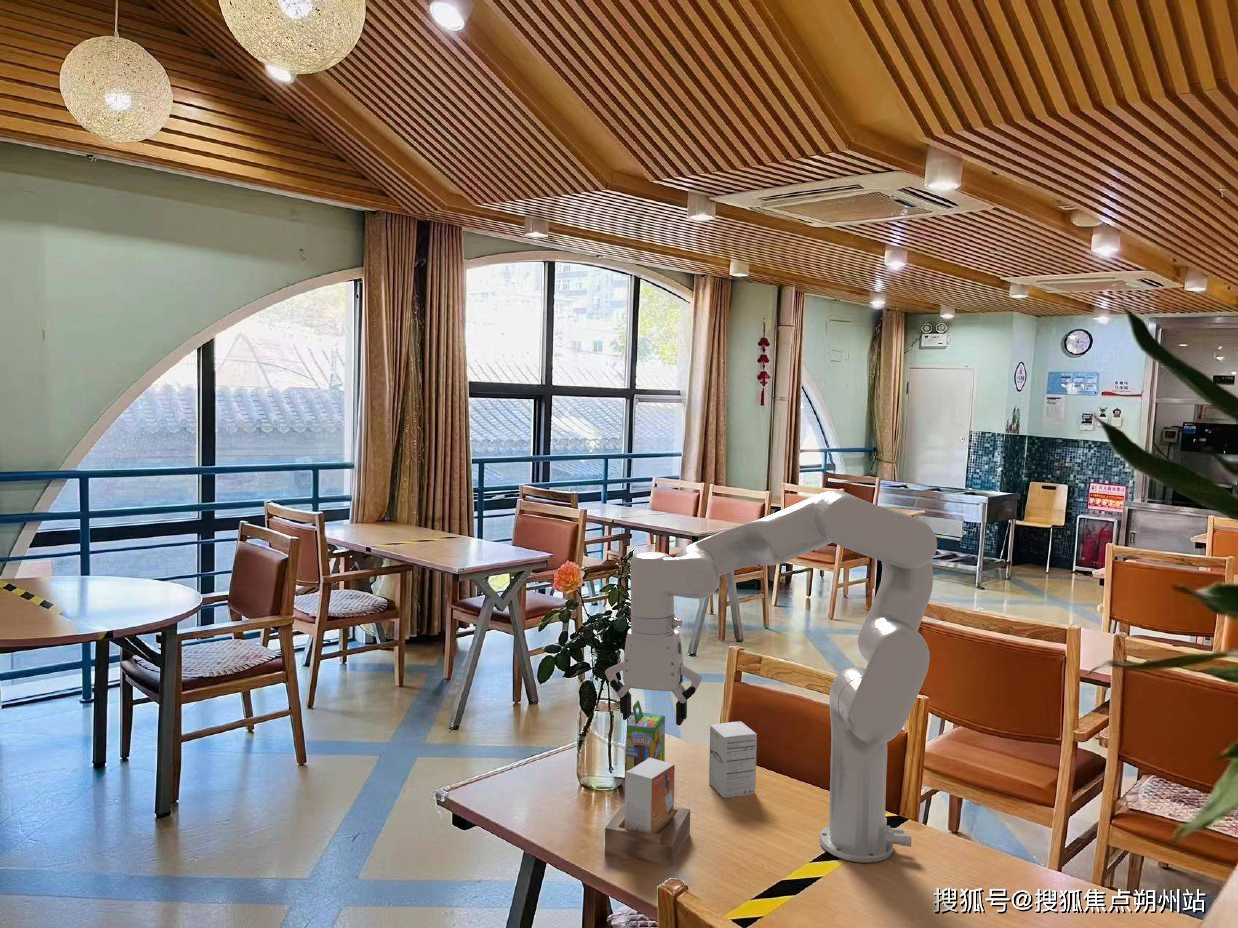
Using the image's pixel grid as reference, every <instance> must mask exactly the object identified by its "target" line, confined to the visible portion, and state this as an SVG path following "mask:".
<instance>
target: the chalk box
mask: <svg viewBox="0 0 1238 928" xmlns="http://www.w3.org/2000/svg"><path fill="white" fill-rule="evenodd" d="M637 709H638V711H637ZM665 730H666V716H665V715H663V714H661V715H660V714H656V713H655V714H654V713H650V712H644V711H643V709H642V706H641V703H640V700H636V702H635V703H634V704H633V705H632V711H631V715H630V717H629V718H628V724H627V749H626V763H625V772H626V771H628V770H630V769H632V768H633V767H635V766H637V765H638V764H640V763H642V762H643V761H645V760H646V759H648V758H653V759H657V760H661V761H664V762H666V760H665V758H666V757H665V756H666V755H665V754H666V751H665V750H666V749H665V747H666V746H665V745H666V744H665V743H666V741H665V740H666V739H665V738H666V737H665V736H666V731H665Z"/></svg>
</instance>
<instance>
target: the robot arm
mask: <svg viewBox="0 0 1238 928" xmlns="http://www.w3.org/2000/svg"><path fill="white" fill-rule="evenodd" d="M832 543H833V544H834V545H838V546H839V547H842V548H845V549H847V550H849V551H852V552H853V553H854V552H855V553H857V554H859V555H863V556H866V557H868V558H872V559H874V560H877V561H881V567H882V569H881V570H882V572H881V580H880V583H879V586H878V589H877V592H876V595H875V596H874V599H873V601H872V604H871V606H870V608H869V611H868V614H867V616H866V618H865V619H864V622H863V625H862V626H861V628H860V631H859V634H858V637H857V646H858V650H859V652H860V654H861V656H862V657H863V658H864V660H865V661H866V662H867V665H866V667H865V668H864V667H860V666H856V667H855V666H853V667H848V668H845V669H844V670H842V671H840V673H837V675H836V676H835V678H834V680H833V681H832V684H831V686H830V690H829V713H830V715H829V716H830V729H831V736H830V737H831V740H830V741H831V743H830V747H831V748H830V750H831V751H830V752H831V753H830V771H829V772H830V778H829V779H830V780H829V809H828V811H829V812H828V813H829V814H828V825H827V826H825V827H823V829H821V830H820V833H819V843H820V845H821V847H822V848H823V849H824V850H825V851H826V852H828V853H829V854H831V855H832V856H834V857H837V858H839V859H842V860H845V861H849V862H855V863H863V864H865V863H866V864H867V863H877V862H881V861H884V860H886V859H888V858H890V857H891V855H892V854H893V852H894V845H898V846H900V847H901V846H902V847H907V848H912V837H913V836H912V835H911V834H905V829H904V828H894V827H891V825H887V822H888V821H887V820H888V819H887V817H886V800H887V799H886V798H887V797H886V795H887V793H886V792H887V768H888V767H887V766H888V765H887V764H888V742H890V741H892V740H894V739H896V737H897V736H898V735H899V734H900V733H901V731H902V730H903V728H904V727H905V724H906V722H907V720H908V718H909V716H910V714H911V711H912V709H913V707H914V704H915V703H916V701H917V699H918V696H919V694H920V691H921V689H922V687H923V686H922V685H924V682H925V680H926V677H927V673H928V671H929V667H930V666H929V665H930V660H931V659H930V656H931V655H930V649H929V646H928V643H927V641H926V639H924V637H923V635H922V634H921V633H920V632H919V629H920V626H921V623H922V621H923V617H924V616H925V612H926V609H927V607H928V604H929V601H930V598H931V597H932V596H931V595H932V591H933V586H934V570H933V565H932V560H933V558H934V557H935V555H936V552H937V549H938V540H937V536H936V534H935V532H934V530H933V529H932V527H931V526H930V525H929V524H927V523H926V522H925V521H923V520H921V519H919V518H916V517H914V516H912V515H910V514H909V513H908V514H907V513H904V512H902V511H898V510H891V509H889V508H885V507H883V506H880V505H877V504H875V503H872V502H869V501H867V500H865V499H862V498H860V497H857V496H855V495H853V494H851V493H848V492H845V491H842V490H839V489H838V490H836V489H832V490H827V491H824V492H821V493H818V494H816V495H814V496H811V497H809V498H807V499H805V500H802V501H800V502H798V503H795V504H792V505H791V506H789V507H786V508H784V509H781V510H779V511H776V512H774V513H772V514H769V515H766V516H764V517H762V518H758V519H756V520H753V521H749V522H746V523H744V524H742V525H739V526H736V527H732V528H729V529H726V530H722V531H719V532H717V533H715V534H713V535H710V536H707V537H705V538H703V539H701V540H699V541H695V542H694V543H691V544H689V545H687V546H686V547H684V548H682V549H681V550H680V551H679V552H677V554H676V555H675V557H672V556H671V555H670V554H667V553H665V552H660V551H648V552H646V551H645V552H639V553H636V554H634V555H633V556H632V557H631V559H630V571H629V573H630V574H629V576H630V628H629V629H628V630H627V634H626V638H625V646H624V652H623V654H624V655H623V661H621V662H619V663H617V664H614V665H612V666H609V667H608V668H606V669H605V670H604V674H605V676H606V679H607V680H608V682H609V685H610V687H611V688H612V689H613V690H614V691H615V693H616V694H617V697H618V698H619V712H620V714H622V715H623V720H626V719H628V718H629V717H630V715H631V712H632V694H631V692H630V689H638V690H648V691H659V692H671V693H672V694H673V696H674V697H675V698H676V699H677V702H676V703H675V724H676V725H677V726H681V725H682V724H683V722H684V721H685V720H686V719H687V718H688V700H690V698H691V697H692V696H693V695H694V694H695V693H696V692H697V690H698V688H699V687H700V685H701V682H702V680H703V676H702V675H700V674H699V673H697V672H695V671H694V670H692V669H690V668H688V667H687V666H685V665H684V656H683V647H682V641H681V635H680V632H679V631H680V630H677V628H681V627H683V618H681V619H680V618H677V617H676V613H675V597H679V598H687V599H694V600H695V599H696V600H697V599H704V598H708V597H709V596H711V595H712V594H714V593H715V592H716V591H717V589H718V587H719V585H720V580H721V576H723V575H726V574H728V573H730V572H734V571H737V570H739V569H742V568H746V567H751V566H776V565H781V564H785V563H787V562H789V561H791V560H794V559H797V558H799V557H801V556H804V555H805V554H808V553H810V552H813V551H814V550H817V549H820V548H822V547H825V546H827V545H830V544H832ZM619 672H622V679H623V683H624V684H623V683H622V682H621V681H620V679H619V678H618V677H617V675H616V674H617V673H619ZM684 678H686V679H688V680H689V681H690V682H691V683H690V686H689V687H687V689H686V688H685V687H684V685H683V684H682V683H684V680H685V679H684Z"/></svg>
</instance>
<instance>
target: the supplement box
mask: <svg viewBox="0 0 1238 928" xmlns="http://www.w3.org/2000/svg"><path fill="white" fill-rule="evenodd" d="M757 737H758V734H757V733H756V731H754V730H752V729H751V728H750V727H749V726H747V725H746V724H745V723H744V722H742V721H740V720H739V721H731V722H721V723H715V724H710V726H709V756H708V757H709V759H708V762H709V763H708V765H709V766H708V768H709V770H708V784H709V785H710V786H712V787H713V789H715V791H716V792H717V793H719V795H720V796H721V797H722V798H723V799H726V798H727V799H728V798H734V797H735V796H737V797H744V796H751V795H755V794H756V785H757V784H756V781H757V780H756V777H757V744H758V743H757V740H758V738H757ZM735 798H736V797H735Z"/></svg>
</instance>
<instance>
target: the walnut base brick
mask: <svg viewBox="0 0 1238 928" xmlns="http://www.w3.org/2000/svg"><path fill="white" fill-rule="evenodd" d="M690 834H691V809H690V808H684V807H678V806H674V813H673V819H672V820H671V822H670V823H669V824H668V825H667V826H665V827H664V828H662V829H661V830H660V831H658V832H657V833H655V834H653V833H647V832H642V831H636V830H630V829H625V802H624V803H623V804H622V806H621V807H619V810H618V811H617V812H616V813H615V814H614V815H613V817H612V818H611V820H609V822H608V824H607V825H606V826H605V827H604V855H606V856H613V857H618V858H621V859H622V858H623V859H627V860H633V861H637V862H643V863H647V864H655V865H659V866H665V867H669V868H672V867H673V866H674V863H675V862H676V860H677V858H678V856H679V854H680V853H681V851H682V850H683V848H684V846H685V844H686V842H687V841H688V839H689V837H690Z"/></svg>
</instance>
